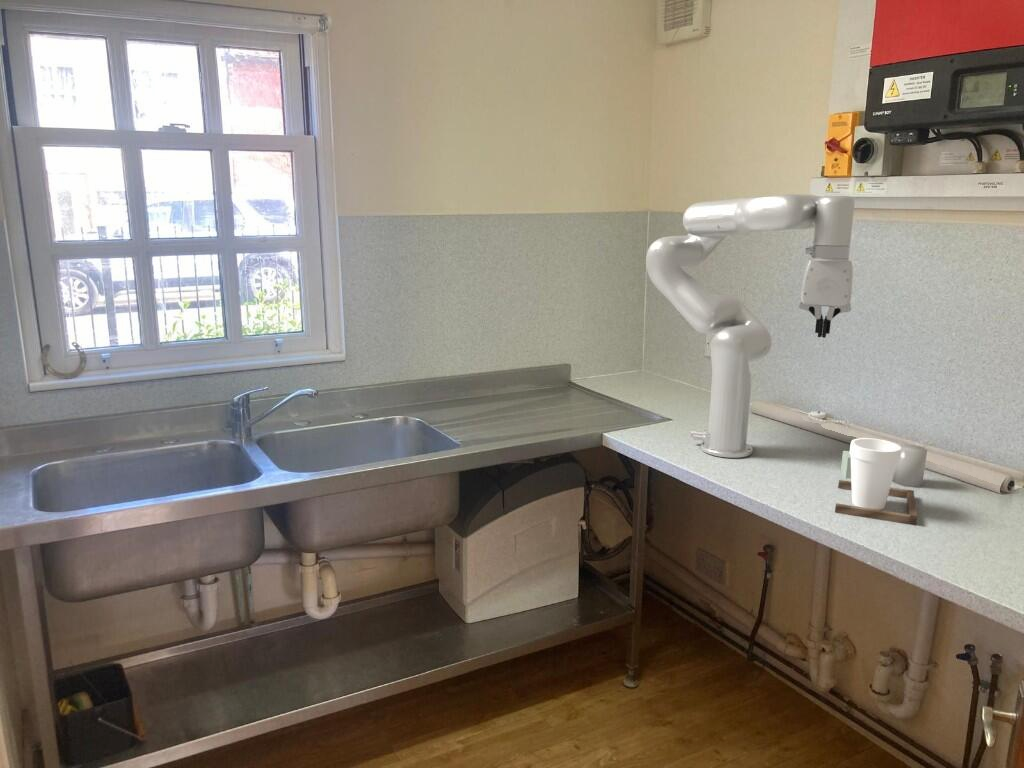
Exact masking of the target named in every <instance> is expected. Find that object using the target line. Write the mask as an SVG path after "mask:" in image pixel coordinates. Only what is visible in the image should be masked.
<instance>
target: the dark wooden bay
mask: <svg viewBox="0 0 1024 768" xmlns="http://www.w3.org/2000/svg"><path fill="white" fill-rule="evenodd" d="M837 489H842V490H847V491H848V490H849V491H852V486H851V480H850V481H848V480H843V479H839V480H838V485H837ZM888 496H891V497H896V498H904V499H906V503H907V504H906V505H907V512H908V514H907V513H901V512H893V511H889V510H888V511H887V510H883V509H881V510H876V509H870V508H863V507H858V506H856V505H851V504H850V505H849V504H844V503H843V504H842V503H837V502H836V503H835V508H834V512H835V513H837V514H845V515H850V516H857V517H862V518H869V519H876V520H881V521H888V522H895V523H900V524H905V525H906V524H907V525H912V526H917V522H918V513H917V507H916V499H915V491H914V490H911V489H904V488H899V487H898V488H897V487H892V486H891V487H890V491H889V494H888Z"/></svg>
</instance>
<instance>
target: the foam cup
mask: <svg viewBox="0 0 1024 768" xmlns="http://www.w3.org/2000/svg"><path fill="white" fill-rule="evenodd" d="M899 445H900V444H898V443H895V442H893V441H889V440H886V439H880V438H873V437H860V438H854V439H852V440H851V442H850V446H849V451H850V454H851V478H850V482H851V486H852V490H851V502H852V504H853V506H857V507H863V508H870V509H876V510H883V509H885V507H886V504H887V500H888V498H889V497H888V496H889V495H888V494H889V491H890V487H892V484H893V476H894V473H895V469H896V466H897V462H898V461H899V459H900V452H901V447H900V446H899Z"/></svg>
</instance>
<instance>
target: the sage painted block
mask: <svg viewBox="0 0 1024 768" xmlns="http://www.w3.org/2000/svg"><path fill="white" fill-rule="evenodd" d="M841 457H842V458H841V467H840V472H841V473H842V475H843V476H844V478H845V479H851V454H850V450H843V451H842V455H841Z"/></svg>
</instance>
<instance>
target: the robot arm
mask: <svg viewBox="0 0 1024 768" xmlns="http://www.w3.org/2000/svg"><path fill="white" fill-rule="evenodd" d="M854 211H855V200H854V198H853V197H851V196H849V195H848V196H847V195H823V196H820V195H814V194H813V195H812V194H800V193H799V194H797V193H793V194H791V193H790V194H788V193H787V194H777V195H768V196H767V195H766V196H759V197H757V196H756V197H740V198H739V197H738V198H729V199H720V200H718V199H717V200H709V201H701V202H696V203H693V204H691V205H690V206H689V207H687V209H686V210H685V211H684V213H683V217H682V225H683V227H684V230H685V231H686V232H687V233H688V234H687V235H671V236H663V237H660V238H657V240H654V241H653V242H652V243H651V244H650V245H649V248H648V249H647V253H646V257H645V267H646V271H647V272H646V273H647V275H648V277H649V279H650V281H651V283H652V284H653V285H654V287H655V288H656V289H657V290H658V291H659V292H660V293H661V294H662V295H663V296H664V297H665V298H666V300H668V302H670V303H671V304H672V306H673V307H674V308H675V309H676V311H677V312H678V313H679V314H680V315H681V316H682V317H683V318H684V319H685V320H686V322H688V323H689V324H690V326H691V327H692V328H693V329H694V330H695V331H697V332H698V333H700V334H703V335H704V334H705V335H708V334H714V336H713V337H712V339H711V342H710V347H709V349H710V350H709V351H710V352H709V353H710V361H711V386H710V400H709V401H710V403H709V412H708V413H709V415H708V416H709V417H708V429H707V430H703V431H699V430H695V429H692V430H691V431H690V438H693V439H692V440H696V441H701V443H700V449H701V451H703V452H704V453H706V454H709V455H711V456H714V457H720V458H727V459H728V458H729V459H730V458H731V459H739V458H745V457H749V456H751V455H752V454H753V447H752V446H751V445H750V444H748V443H747V440H748V429H749V428H748V427H749V416H750V404H751V394H752V374H751V370H750V364H749V363H751V362H755V361H759V360H761V359H763V358H765V357H766V356H767V355H768V354H769V352H770V351H771V349H772V345H773V343H772V342H773V340H772V336H771V334H770V331H769V330H768V328H767V327H766V326H765V324H763V323H762V321H761V320H760V319H758V317H757V316H756V315H755V314H754V313H752V311H751V310H750V309H749V308H748V307H747V306H746V305H745V304H744V303H743V302H742V301H741V300H740V299H738V298H737V297H735V296H733V295H731V294H727V293H726V294H725V293H719V294H713V293H710V292H709V291H708V290H706V288H704V287H703V286H702V285H701V283H700V282H699V281H698V280H697V279H696V278H694V276H691V275H690V274H688V273H687V272H686V271H684V270H683V269H693V268H695V267H698V266H700V265H701V264H703V263H704V262H705V261H706V260H707V259H708V258H709V257H710V255H711V254H712V253H713V252H714V251H715V250H716V249H717V247H719V245H720V244H721V243H722V242H723V240H725V238H727V236H739V235H740V236H743V235H748V234H749V233H753V232H764V231H765V232H766V231H781V230H782V231H784V230H809V229H810V230H811V229H814V231H813V243H812V246H809V247H805V251H804V252H805V254H808V255H810V256H811V258H810V259H809V258H808V259H807V261H806V264H805V268H804V272H803V280H802V288H801V294H800V295H801V296H800V302H799V305H798V306H799V309H802V310H804V311H807V312H810V314H811V315H812V316H813V317H814V318H815V320H816V321H815V331H814V333H815V334H817V338H824V339H825V338H826V337H827V335H829V334H830V332H831V324H832V323H831V322H832V319H833V318H835V317H836V316H838V314H842V313H849V312H851V310H852V305H851V300H852V299H851V298H852V293H853V270H854V269H853V261H852V260H849V259H850V249H851V241H852V231H853V222H854V213H855V212H854ZM822 307H828V310H827V314H826V315H825V316H824V315H823V314H822ZM823 316H824V317H823ZM715 333H716V334H715Z"/></svg>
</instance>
